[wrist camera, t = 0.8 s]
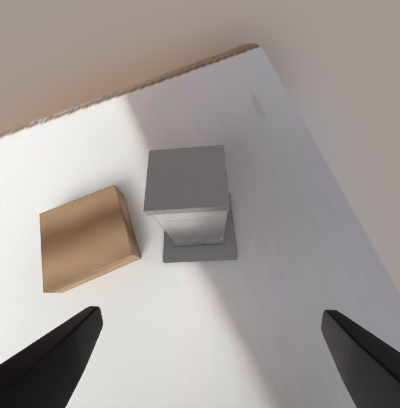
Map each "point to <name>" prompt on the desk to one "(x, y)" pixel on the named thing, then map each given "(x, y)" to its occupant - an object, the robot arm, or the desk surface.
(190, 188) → the block
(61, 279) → the stand
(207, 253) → the pad
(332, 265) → the desk surface
